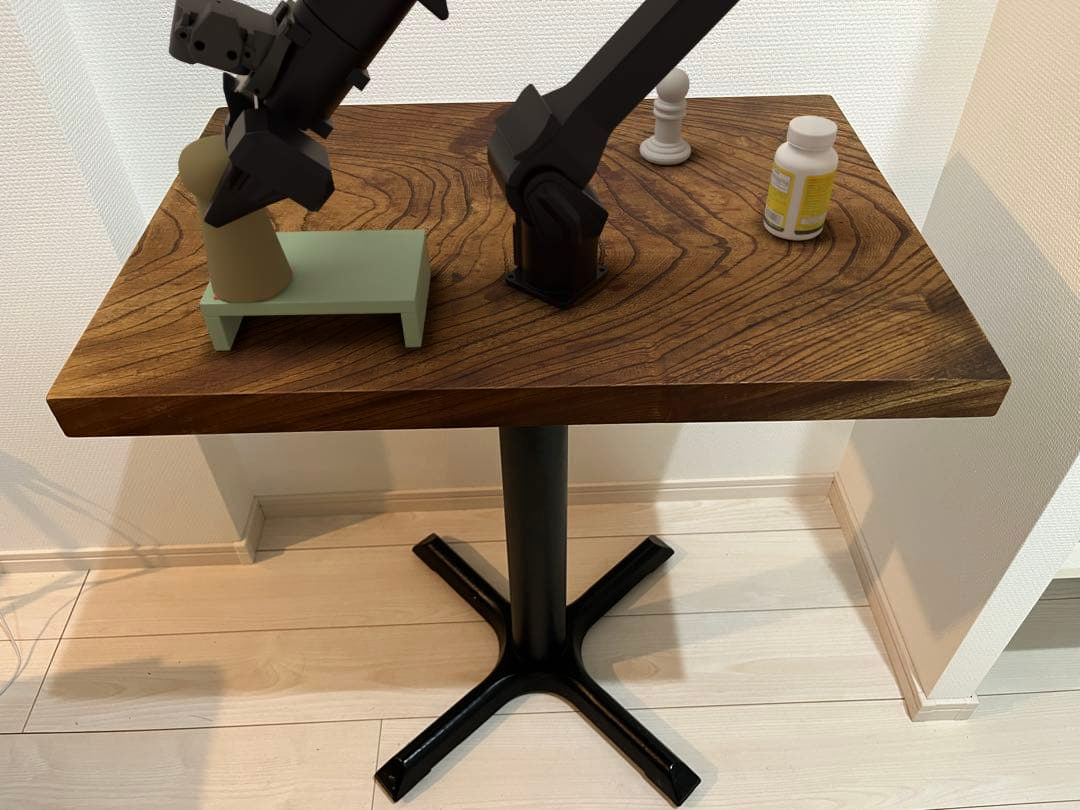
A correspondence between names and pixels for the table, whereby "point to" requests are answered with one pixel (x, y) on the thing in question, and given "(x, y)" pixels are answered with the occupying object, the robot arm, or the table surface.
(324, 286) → the shelf
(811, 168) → the supplement bottle
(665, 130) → the chess piece
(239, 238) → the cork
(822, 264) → the table surface
